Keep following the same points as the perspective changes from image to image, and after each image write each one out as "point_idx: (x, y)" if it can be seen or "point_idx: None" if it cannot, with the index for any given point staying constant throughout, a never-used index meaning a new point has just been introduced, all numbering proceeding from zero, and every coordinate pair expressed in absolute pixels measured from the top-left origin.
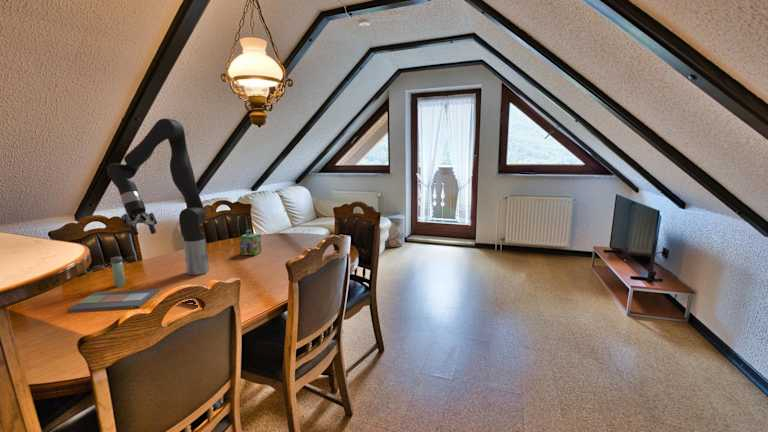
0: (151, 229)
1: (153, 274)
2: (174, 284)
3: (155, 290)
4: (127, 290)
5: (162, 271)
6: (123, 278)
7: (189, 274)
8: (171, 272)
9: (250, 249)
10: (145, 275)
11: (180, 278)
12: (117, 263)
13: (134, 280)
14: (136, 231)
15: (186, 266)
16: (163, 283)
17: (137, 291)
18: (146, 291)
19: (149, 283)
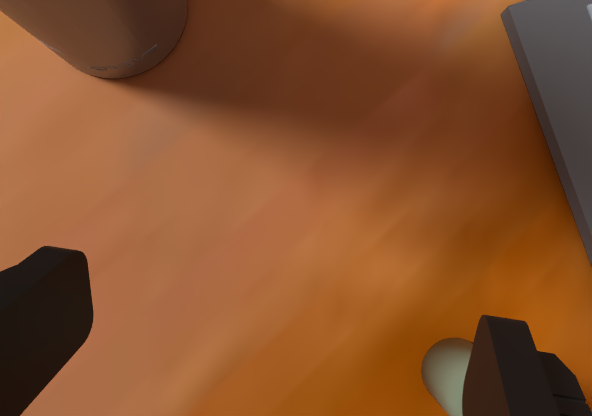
0: (23, 355)
1: (211, 311)
2: (368, 3)
3: (536, 3)
4: (576, 191)
5: (137, 294)
6: (468, 349)
7: (184, 20)
8: (147, 206)
9: None
10: (241, 355)
11: (255, 45)
12: None
13: (350, 350)
14: (535, 356)
15: (153, 25)
16: (365, 92)
17: (576, 109)
18: (564, 49)
19: (383, 190)
